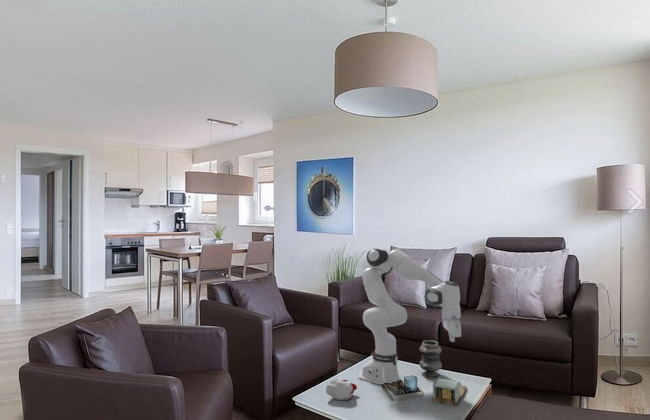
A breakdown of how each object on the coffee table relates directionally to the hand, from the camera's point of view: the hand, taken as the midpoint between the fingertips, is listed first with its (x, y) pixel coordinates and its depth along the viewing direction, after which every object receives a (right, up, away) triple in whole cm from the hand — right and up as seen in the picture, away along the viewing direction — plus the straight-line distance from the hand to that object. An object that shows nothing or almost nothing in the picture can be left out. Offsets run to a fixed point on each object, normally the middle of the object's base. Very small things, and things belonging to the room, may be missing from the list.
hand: (452, 341), depth 213 cm
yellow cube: (-6, -23, -13) cm, 27 cm away
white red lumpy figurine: (-55, -25, -9) cm, 61 cm away
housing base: (-3, -24, -7) cm, 25 cm away
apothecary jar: (-6, -25, +19) cm, 32 cm away
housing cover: (-6, -22, -13) cm, 27 cm away
